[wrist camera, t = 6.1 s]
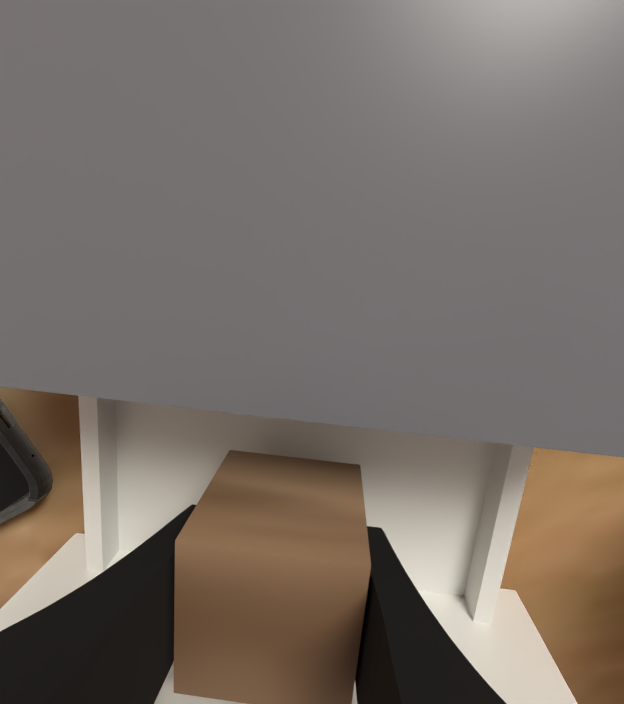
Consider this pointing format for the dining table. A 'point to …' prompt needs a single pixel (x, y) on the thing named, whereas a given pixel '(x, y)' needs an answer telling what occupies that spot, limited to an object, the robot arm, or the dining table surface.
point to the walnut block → (272, 583)
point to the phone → (19, 470)
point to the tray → (380, 508)
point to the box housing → (320, 211)
